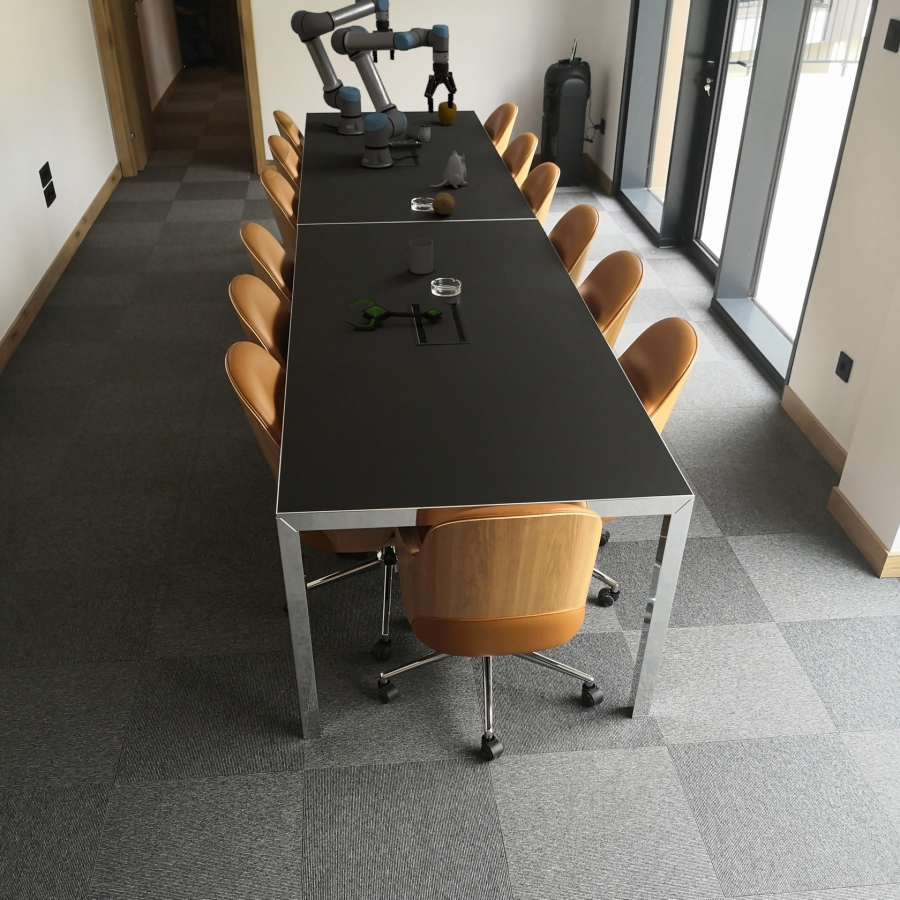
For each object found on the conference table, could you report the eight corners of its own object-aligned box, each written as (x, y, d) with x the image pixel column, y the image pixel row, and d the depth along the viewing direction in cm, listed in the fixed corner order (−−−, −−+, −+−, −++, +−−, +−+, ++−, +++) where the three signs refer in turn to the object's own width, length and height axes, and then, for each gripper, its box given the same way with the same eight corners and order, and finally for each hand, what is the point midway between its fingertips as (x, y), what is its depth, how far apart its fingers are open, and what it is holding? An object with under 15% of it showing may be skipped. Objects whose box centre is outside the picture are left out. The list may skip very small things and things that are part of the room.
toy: (472, 184, 399) (472, 151, 391) (436, 195, 384) (436, 161, 376) (457, 180, 404) (458, 147, 396) (422, 191, 389) (421, 157, 381)
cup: (409, 265, 311) (408, 238, 306) (432, 265, 312) (431, 238, 307) (410, 274, 304) (409, 246, 299) (433, 273, 305) (433, 246, 299)
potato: (453, 208, 369) (453, 189, 365) (456, 218, 357) (456, 199, 353) (431, 208, 368) (430, 189, 364) (432, 218, 356) (432, 199, 352)
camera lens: (425, 142, 467) (425, 127, 463) (416, 140, 471) (416, 125, 467) (432, 140, 472) (432, 125, 467) (424, 138, 475) (423, 123, 471)
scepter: (442, 294, 271) (346, 291, 269) (443, 324, 264) (344, 322, 262) (441, 307, 276) (346, 304, 274) (442, 337, 269) (345, 335, 267)
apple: (456, 126, 498) (456, 103, 491) (437, 126, 498) (437, 102, 492) (456, 122, 508) (456, 99, 501) (438, 122, 508) (438, 99, 501)
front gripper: (427, 66, 390) (428, 115, 402) (464, 59, 406) (464, 107, 417) (416, 64, 394) (416, 113, 406) (452, 58, 410) (452, 105, 421)
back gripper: (371, 22, 472) (373, 64, 484) (402, 18, 488) (403, 59, 500) (361, 21, 476) (363, 63, 488) (393, 17, 492) (394, 57, 504)
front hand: (440, 110), depth 412 cm, fingers open, 13 cm apart
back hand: (383, 61), depth 494 cm, fingers open, 13 cm apart
